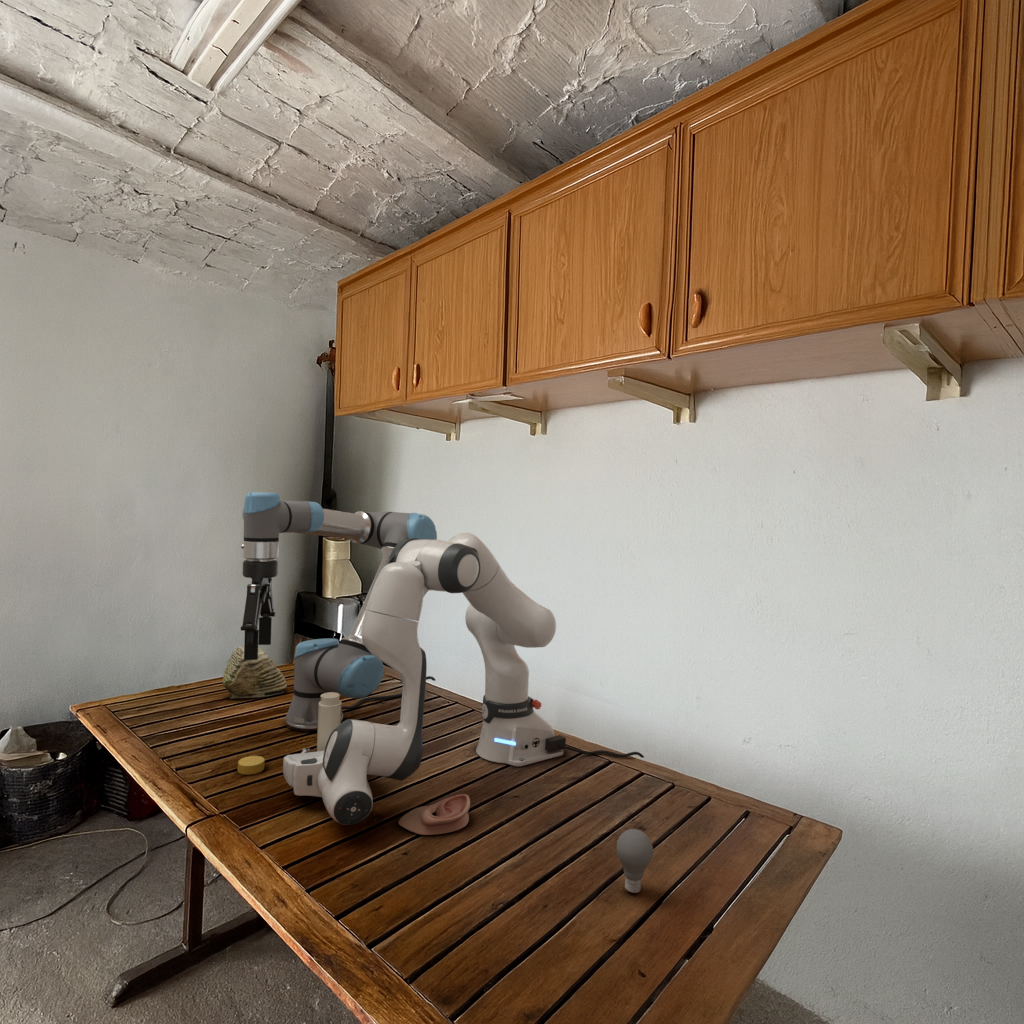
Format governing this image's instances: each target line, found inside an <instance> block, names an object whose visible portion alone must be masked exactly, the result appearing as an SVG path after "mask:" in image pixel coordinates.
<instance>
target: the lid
mask: <svg viewBox="0 0 1024 1024" xmlns="http://www.w3.org/2000/svg"><path fill="white" fill-rule="evenodd" d="M265 767H266V760H265V758H264V757H263V756H260V755H249V756H245V757H242V758H240V759H239V760H238V761H237V768H236V769H237V770H236V771H237V772H238V774H240V775H245V776H247V775H255V774H259V773H261V772H263V771H264V769H265Z"/></svg>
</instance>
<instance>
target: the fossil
mask: <svg viewBox="0 0 1024 1024" xmlns="http://www.w3.org/2000/svg"><path fill="white" fill-rule="evenodd" d="M222 676H223V677H222V685H223V687H224V688H225V690H226V691H228V693H229V698H230V699H250V698H264V697H271V696H275V695H281V694H284V693H285V691H286V689H287V687H288V686H287V680H286V678H285V676H284V674H283V673H282V672H281V669H279V668H278V667H277V665H276V663H275V662H274V660H273V659H272V658H271V657H270V656H269V655H268V654H267V653H266V652H265V650H264V649H263V648H260V647H258V659H257V660H244V646H238V647H237V648H236V649H235V650H233V651H232V653H231V656H230V657H229V659H228V660H227V663H226V666H225V668H224V671H223V675H222Z"/></svg>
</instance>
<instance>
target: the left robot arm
mask: <svg viewBox="0 0 1024 1024" xmlns="http://www.w3.org/2000/svg"><path fill="white" fill-rule="evenodd" d="M242 519H243V544H241V545H240V548H241V549H243V552H242V553H243V554H242V557H243V559H244V560H243V561H242V572H241V573H242V577H244V578H248V579H251V583H248V584H247V585H246V597H245V605H244V614H243V619H242V625H241V626H240V631H244V641H243V642H244V646H243V647H244V660H257V659H258V648H259V646H271V644H272V621H273V617H276V611H275V609H274V597H273V582H272V581H273V578H276V577H277V576H278V574H279V561H278V560H277V559H278V558H279V556H280V555H279V551H280V550H279V548H280V538H279V537H280V534H283V533H285V534H286V533H291V534H292V533H294V534H295V533H296V534H303V535H311V536H319V537H328V538H336V539H345V540H349V541H351V542H352V543H354V544H358V545H364V546H367V547H372V548H375V549H379V550H381V553H382V555H383V557H382V559H381V562H380V563H379V567H378V569H377V571H376V573H375V575H374V578H373V580H372V583H371V584H370V587H369V589H368V592H367V594H366V597H365V599H364V601H363V604H362V605H361V608H360V611H359V613H358V614H357V618H356V619H355V621H354V624H353V626H352V628H351V630H350V634H348V635H347V636H344V637H342V638H341V640H340V641H339V639H338V638H331V637H329V638H317V639H316V638H315V639H308V640H304V641H301V642H299V643H298V644H297V645H296V646H295V652H294V656H293V658H294V670H293V671H294V672H293V695H292V696H293V697H292V699H291V702H290V704H289V708H288V711H287V713H286V715H285V726H286V728H287V729H289V730H291V731H294V732H295V731H296V732H301V733H317V730H318V704H319V702H320V701H321V697H320V696H321V695H322V694H324V693H328V692H335V693H339V694H340V696H342V697H345V698H348V699H357V700H358V699H359V700H358V701H356V702H355V703H354V704H352V705H348V706H347V705H341V723H342V722H344V714H343V711H344V710H353V709H355V708H356V707H358V706H359V705H361V704H362V703H366V702H368V701H369V702H370V701H377V700H389V699H397V698H402V692H401V693H396V694H390V695H377V696H370V695H372V694H373V693H374V692H375V691H376V690H377V689H378V687H379V686H380V684H381V682H382V680H383V677H384V673H385V670H384V669H383V668H384V662H382V661H381V660H379V659H378V658H376V657H375V656H374V655H373V654H371V653H370V651H369V650H368V649H367V648H366V646H365V645H364V642H363V640H362V636H361V631H362V623H363V619H364V615H365V611H366V610H367V609H366V607H367V604H368V601H369V598H370V595H371V592H372V589H373V587H374V584H375V582H376V580H377V578H378V576H379V574H380V572H381V570H382V569H383V567H384V566H386V565H387V564H388V562H389V558H390V555H391V553H392V551H393V549H394V548H395V546H396V545H397V544H398V543H399V542H401V541H403V540H406V539H413V538H417V539H420V540H423V539H428V540H438V532H437V528H436V525H435V522H434V521H433V520H432V518H431V517H430V516H428V515H426V514H423V513H417V512H396V511H363V510H362V511H361V510H358V511H356V512H354V513H353V512H346V511H340V510H334V509H329V508H323V507H322V505H321V504H320V503H318V502H316V501H310V500H304V501H303V500H302V501H301V500H283V499H281V495H280V494H279V493H278V492H267V491H265V492H264V491H250V492H247V493H246V494H245V496H244V504H243V508H242ZM368 611H371V610H368ZM373 612H375V611H373ZM378 613H379V612H378ZM382 614H383V613H382ZM387 615H388V614H387ZM391 616H392V615H391ZM427 680H432V681H434V682H436V679H435V677H434V676H431V675H428V676H426V681H427ZM368 696H369V697H368Z"/></svg>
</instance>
